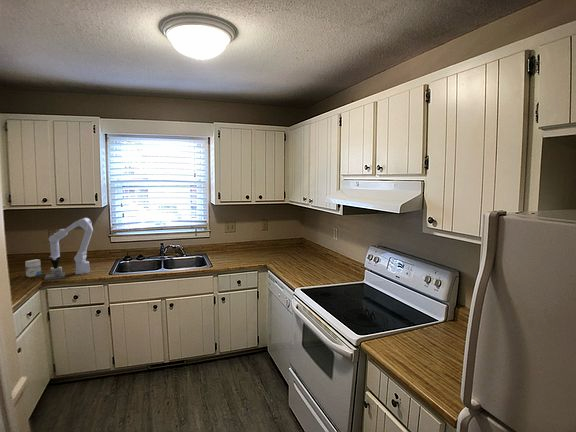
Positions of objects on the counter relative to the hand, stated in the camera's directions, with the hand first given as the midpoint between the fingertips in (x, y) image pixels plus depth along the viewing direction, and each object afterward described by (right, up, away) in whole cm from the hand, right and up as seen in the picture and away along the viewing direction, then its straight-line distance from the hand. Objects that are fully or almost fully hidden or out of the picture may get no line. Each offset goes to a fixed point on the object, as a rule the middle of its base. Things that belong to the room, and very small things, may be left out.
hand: (56, 267), depth 269 cm
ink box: (-15, -6, -4) cm, 16 cm away
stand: (+6, -7, -9) cm, 13 cm away
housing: (0, -6, +1) cm, 6 cm away
